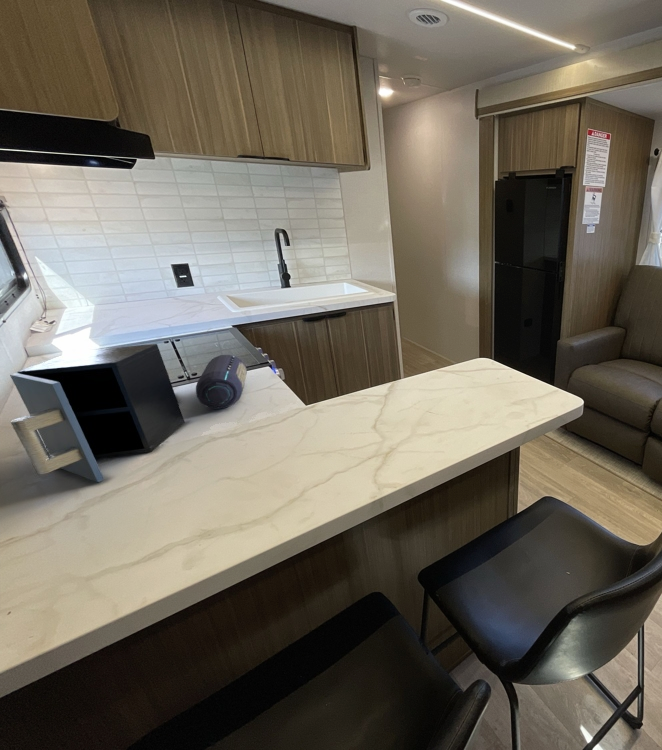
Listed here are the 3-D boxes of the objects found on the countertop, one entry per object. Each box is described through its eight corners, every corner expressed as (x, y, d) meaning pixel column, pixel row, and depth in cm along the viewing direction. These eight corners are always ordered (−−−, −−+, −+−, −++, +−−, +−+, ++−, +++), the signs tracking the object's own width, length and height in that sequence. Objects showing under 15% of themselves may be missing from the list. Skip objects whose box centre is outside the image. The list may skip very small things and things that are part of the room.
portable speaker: (245, 408, 104) (235, 372, 101) (199, 417, 100) (187, 380, 97) (251, 379, 125) (242, 348, 122) (213, 386, 121) (203, 354, 118)
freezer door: (57, 500, 70) (3, 396, 63) (16, 482, 76) (-38, 385, 69) (104, 479, 75) (59, 381, 68) (62, 464, 81) (17, 373, 75)
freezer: (151, 451, 85) (115, 362, 78) (62, 463, 82) (16, 371, 75) (185, 422, 97) (157, 343, 91) (109, 432, 95) (74, 351, 88)
